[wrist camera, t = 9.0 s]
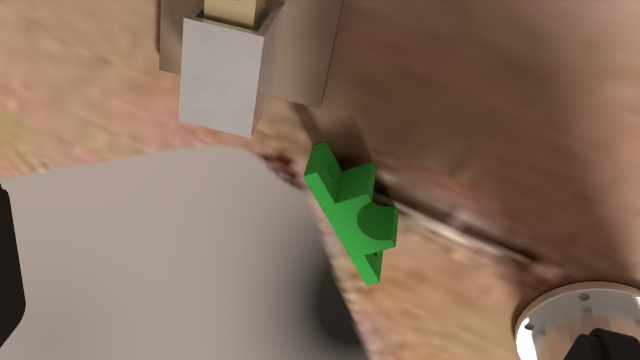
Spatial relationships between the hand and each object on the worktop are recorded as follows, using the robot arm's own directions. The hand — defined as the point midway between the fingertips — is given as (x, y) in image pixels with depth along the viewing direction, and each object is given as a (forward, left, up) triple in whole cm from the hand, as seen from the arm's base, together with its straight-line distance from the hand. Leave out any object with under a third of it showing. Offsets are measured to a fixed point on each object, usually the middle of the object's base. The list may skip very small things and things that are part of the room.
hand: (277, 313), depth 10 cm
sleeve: (+8, +10, -32) cm, 34 cm away
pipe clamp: (-3, +21, -33) cm, 40 cm away
